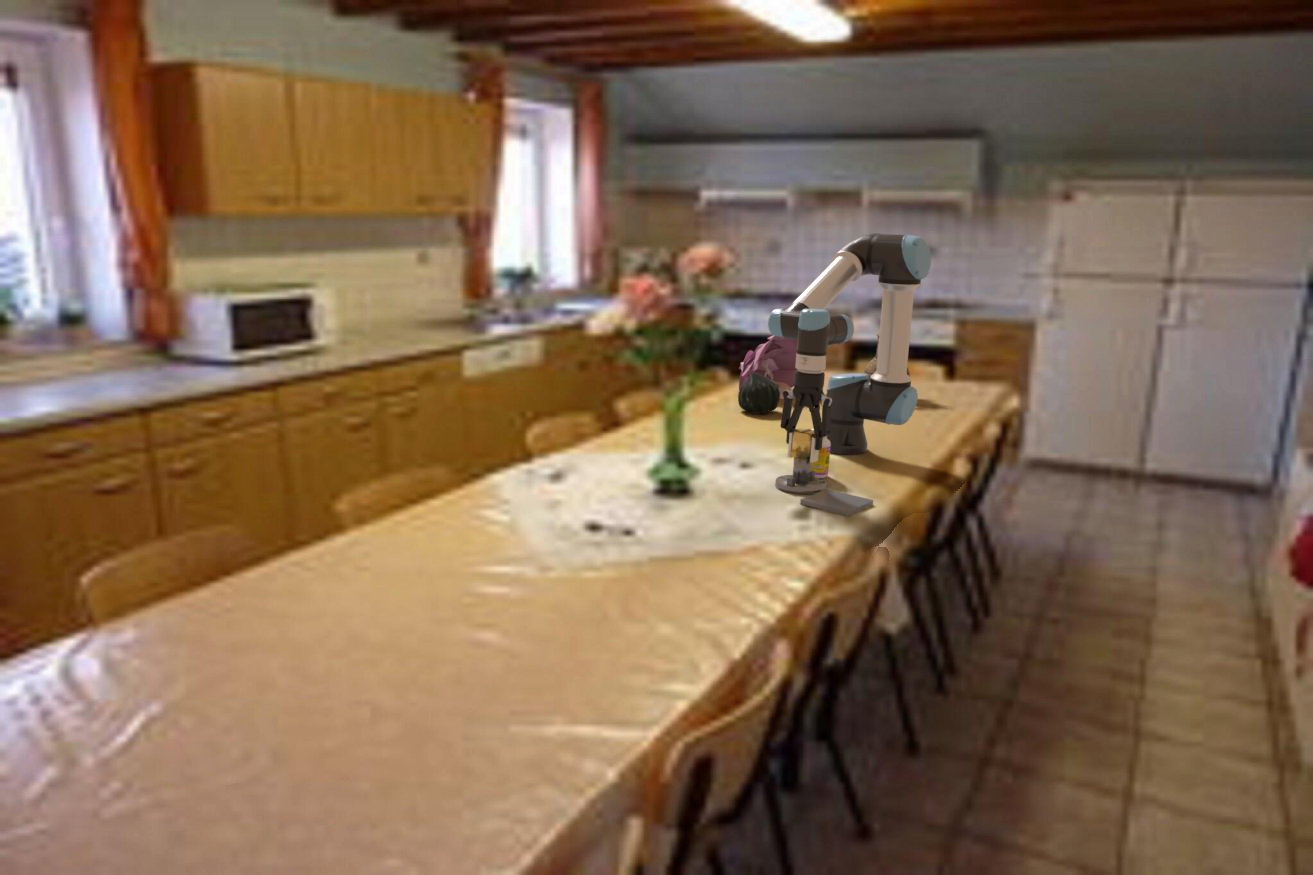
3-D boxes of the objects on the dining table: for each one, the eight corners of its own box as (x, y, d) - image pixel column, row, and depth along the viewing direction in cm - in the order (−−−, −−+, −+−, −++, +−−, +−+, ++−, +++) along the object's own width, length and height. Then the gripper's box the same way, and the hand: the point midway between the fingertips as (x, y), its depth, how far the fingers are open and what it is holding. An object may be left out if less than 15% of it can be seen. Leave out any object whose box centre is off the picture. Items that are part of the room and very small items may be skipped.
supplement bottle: (827, 480, 254) (831, 433, 251) (802, 477, 255) (806, 431, 252) (828, 473, 260) (832, 428, 257) (803, 471, 261) (807, 426, 258)
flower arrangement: (774, 416, 355) (790, 345, 343) (720, 395, 365) (734, 326, 353) (812, 394, 382) (828, 328, 371) (761, 375, 393) (775, 310, 381)
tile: (826, 493, 242) (827, 488, 241) (872, 504, 234) (873, 500, 233) (800, 503, 232) (800, 499, 232) (847, 516, 224) (848, 511, 224)
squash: (793, 398, 336) (769, 363, 338) (775, 406, 324) (750, 370, 326) (765, 419, 344) (742, 385, 346) (746, 427, 332) (722, 392, 334)
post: (791, 477, 255) (794, 445, 253) (834, 487, 247) (837, 454, 245) (765, 486, 245) (768, 453, 243) (809, 498, 237) (812, 463, 235)
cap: (803, 448, 250) (805, 425, 248) (823, 452, 246) (825, 429, 244) (782, 455, 242) (784, 431, 240) (802, 459, 238) (804, 435, 236)
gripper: (770, 367, 241) (763, 454, 247) (836, 377, 230) (827, 469, 235) (785, 364, 247) (779, 449, 253) (850, 374, 236) (842, 463, 241)
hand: (802, 458), depth 244 cm, fingers closed on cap, 6 cm apart
